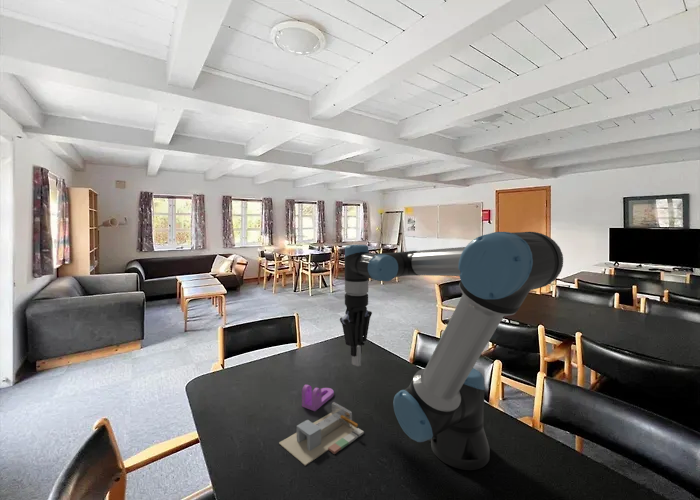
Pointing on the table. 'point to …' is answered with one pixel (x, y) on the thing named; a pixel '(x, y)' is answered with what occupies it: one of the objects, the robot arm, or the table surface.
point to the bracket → (315, 397)
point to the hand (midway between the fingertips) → (356, 364)
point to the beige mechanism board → (318, 440)
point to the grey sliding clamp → (336, 420)
